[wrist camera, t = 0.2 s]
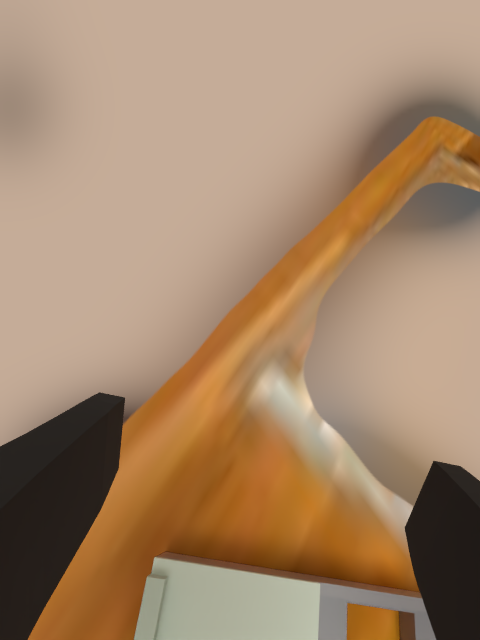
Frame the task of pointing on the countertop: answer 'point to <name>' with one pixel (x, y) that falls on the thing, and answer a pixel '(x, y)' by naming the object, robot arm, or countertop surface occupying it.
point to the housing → (345, 600)
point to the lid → (225, 604)
